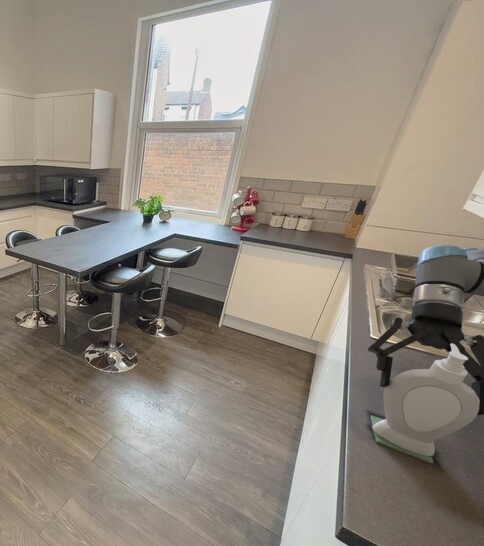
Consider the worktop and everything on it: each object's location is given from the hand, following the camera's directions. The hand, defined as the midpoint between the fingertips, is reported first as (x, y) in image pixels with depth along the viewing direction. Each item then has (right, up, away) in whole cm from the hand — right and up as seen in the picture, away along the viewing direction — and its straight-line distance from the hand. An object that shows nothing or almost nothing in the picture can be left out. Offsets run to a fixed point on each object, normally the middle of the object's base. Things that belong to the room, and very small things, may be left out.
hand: (428, 399), depth 65 cm
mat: (+1, -12, +7) cm, 14 cm away
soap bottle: (+1, -11, +6) cm, 13 cm away
